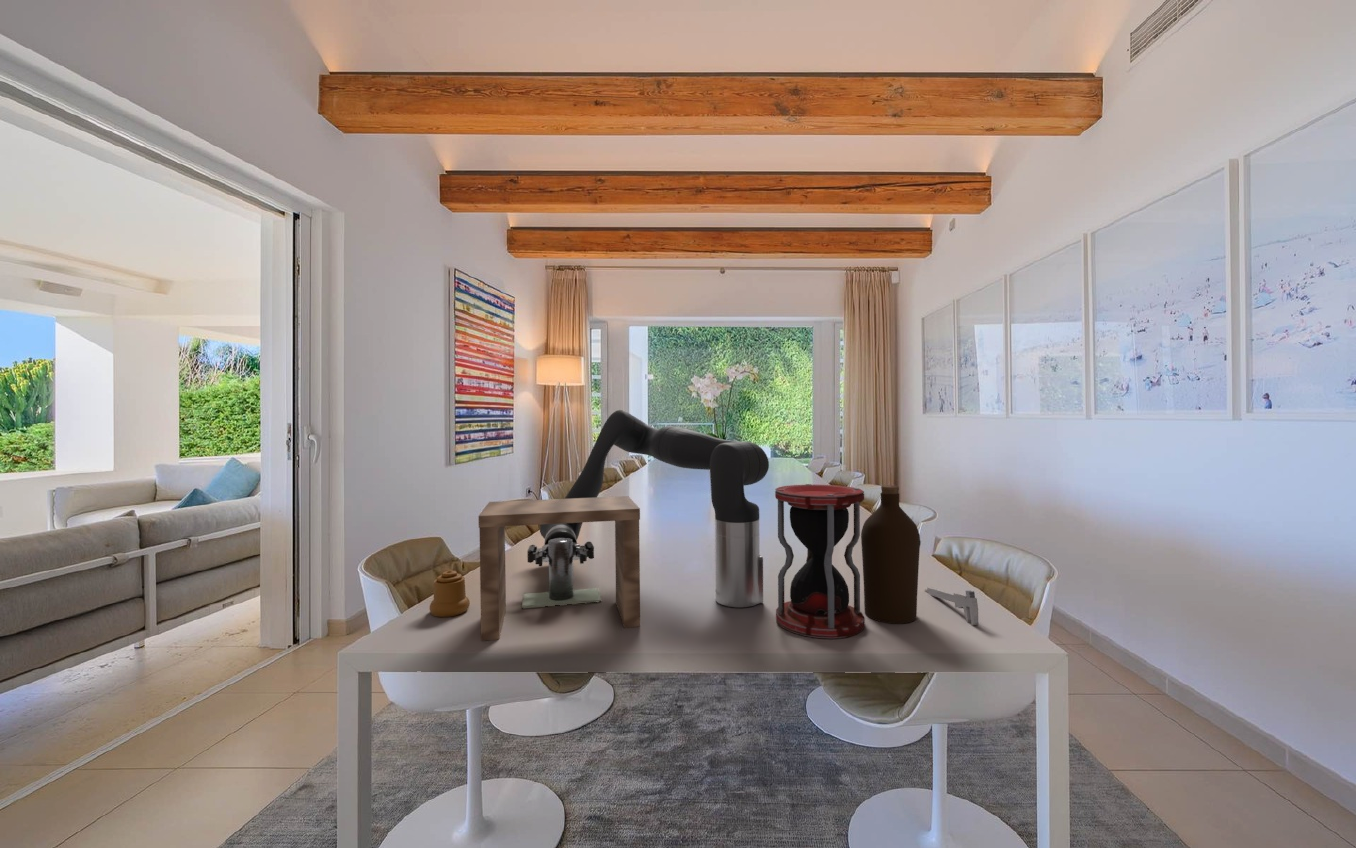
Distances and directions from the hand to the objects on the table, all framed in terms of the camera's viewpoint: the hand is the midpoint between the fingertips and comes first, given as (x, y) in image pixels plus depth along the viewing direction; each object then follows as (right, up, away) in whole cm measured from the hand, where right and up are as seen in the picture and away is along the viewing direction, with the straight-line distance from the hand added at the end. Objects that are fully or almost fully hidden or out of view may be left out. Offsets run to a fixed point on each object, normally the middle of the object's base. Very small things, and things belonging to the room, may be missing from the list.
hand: (561, 560), depth 116 cm
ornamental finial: (-21, -9, -5) cm, 24 cm away
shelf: (+2, -9, -10) cm, 13 cm away
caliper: (+79, -9, -5) cm, 80 cm away
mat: (0, -9, +2) cm, 9 cm away
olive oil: (+66, -9, -9) cm, 67 cm away
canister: (0, -8, +2) cm, 9 cm away
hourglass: (+51, -9, -12) cm, 53 cm away
